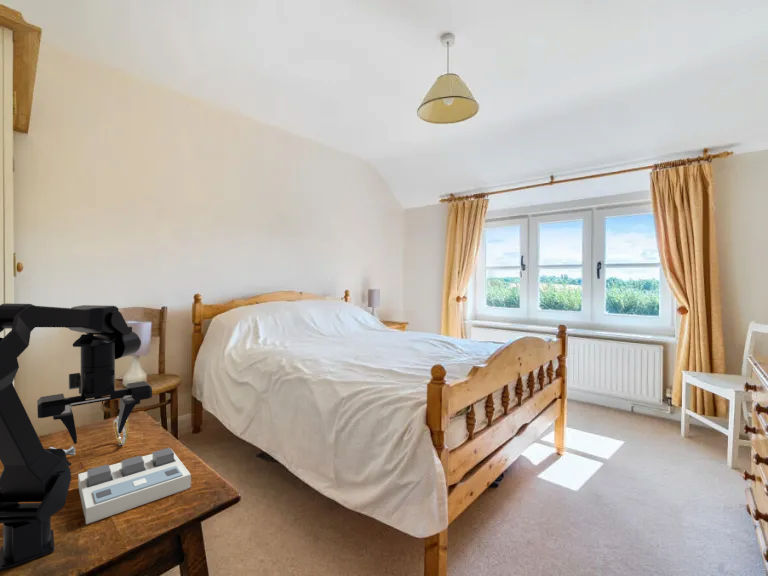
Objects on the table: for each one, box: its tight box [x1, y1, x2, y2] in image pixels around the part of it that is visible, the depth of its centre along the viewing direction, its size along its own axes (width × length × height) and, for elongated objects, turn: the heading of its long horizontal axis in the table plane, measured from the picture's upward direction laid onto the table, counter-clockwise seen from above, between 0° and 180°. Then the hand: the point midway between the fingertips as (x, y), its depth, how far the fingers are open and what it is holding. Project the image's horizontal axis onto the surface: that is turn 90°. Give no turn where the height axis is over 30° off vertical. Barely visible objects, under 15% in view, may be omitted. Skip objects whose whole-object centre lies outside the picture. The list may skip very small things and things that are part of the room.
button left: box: [86, 464, 111, 487], centre depth 78 cm, size 4×4×3 cm
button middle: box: [121, 454, 144, 477], centre depth 82 cm, size 4×4×3 cm
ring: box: [112, 415, 130, 446], centre depth 100 cm, size 7×3×8 cm, turn 48°
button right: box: [152, 447, 175, 467], centre depth 86 cm, size 4×4×3 cm
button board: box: [77, 448, 192, 525], centre depth 81 cm, size 16×18×3 cm
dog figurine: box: [48, 444, 76, 456], centre depth 92 cm, size 3×6×4 cm
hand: (98, 437), depth 78 cm, fingers open, 7 cm apart
